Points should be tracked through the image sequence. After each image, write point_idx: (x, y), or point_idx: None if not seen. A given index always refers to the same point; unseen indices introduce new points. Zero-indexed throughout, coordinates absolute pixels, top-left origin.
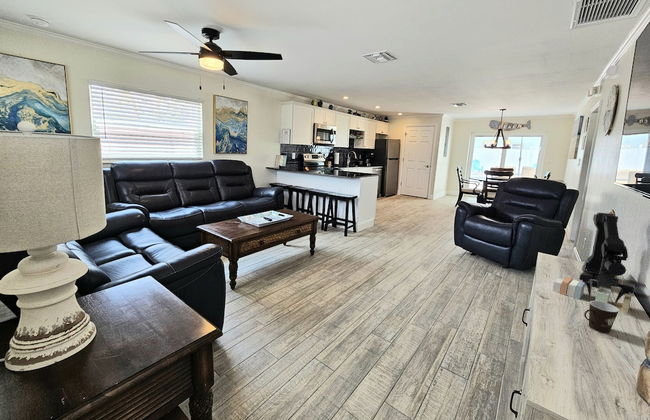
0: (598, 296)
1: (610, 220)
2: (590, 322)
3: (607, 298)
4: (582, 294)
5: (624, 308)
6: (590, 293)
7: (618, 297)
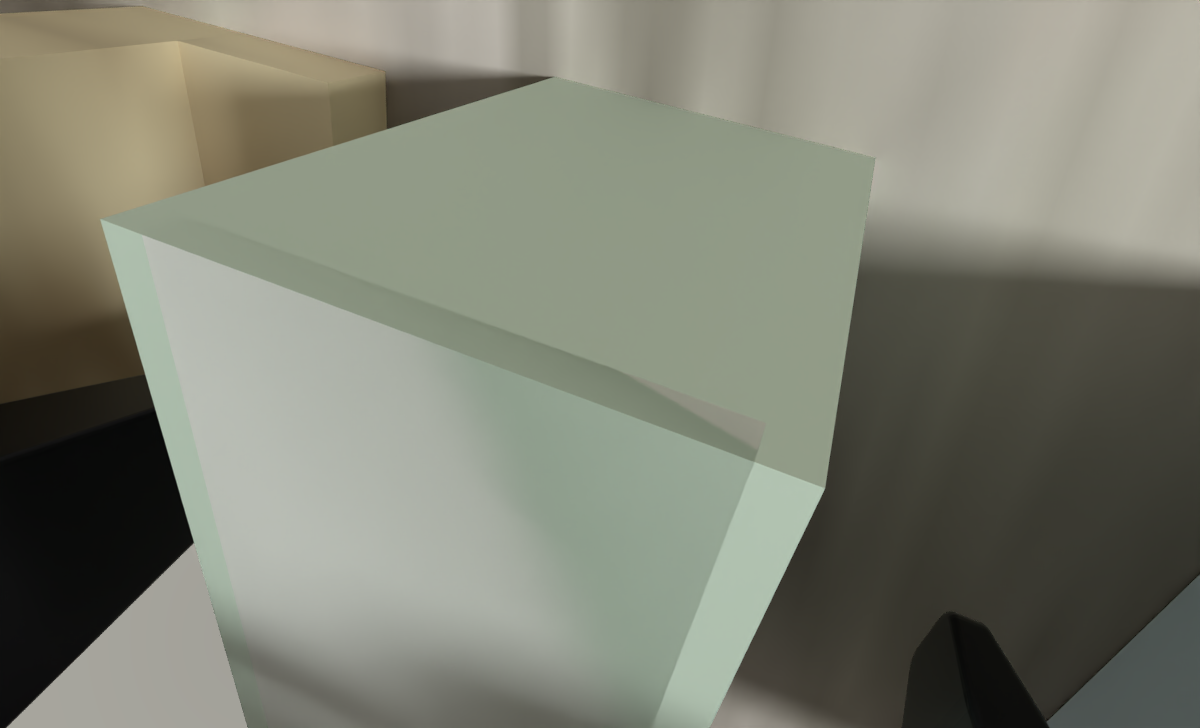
0: (716, 280)
1: None
2: None
3: (294, 158)
4: (1081, 722)
5: (66, 33)
6: (966, 683)
7: (21, 423)
